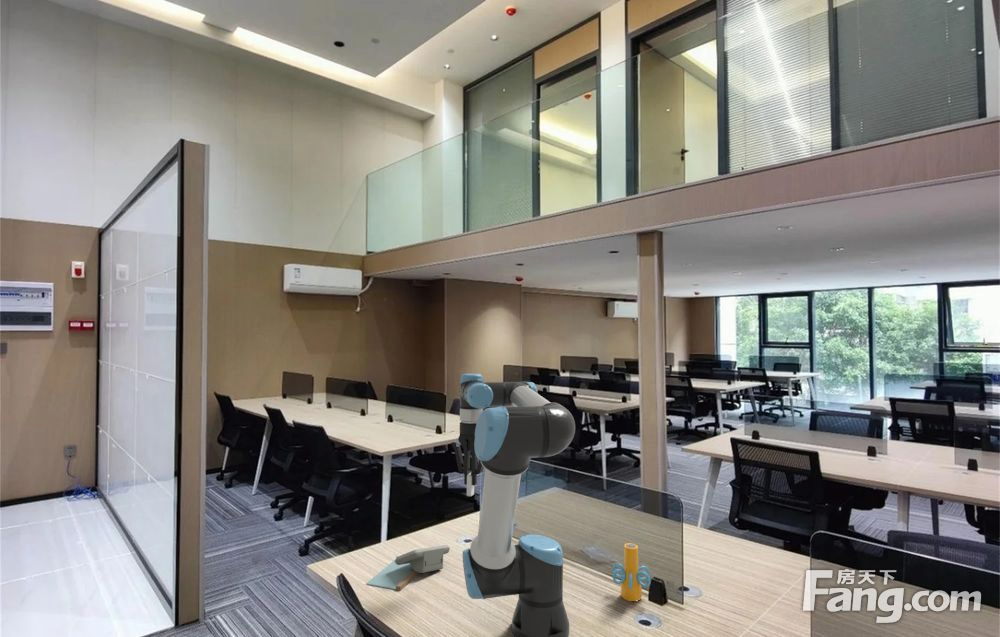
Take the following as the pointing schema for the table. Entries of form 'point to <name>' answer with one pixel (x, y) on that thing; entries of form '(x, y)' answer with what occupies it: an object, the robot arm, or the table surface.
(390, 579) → the mat
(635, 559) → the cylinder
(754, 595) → the table surface
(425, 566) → the digital clock
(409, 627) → the table surface
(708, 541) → the table surface
